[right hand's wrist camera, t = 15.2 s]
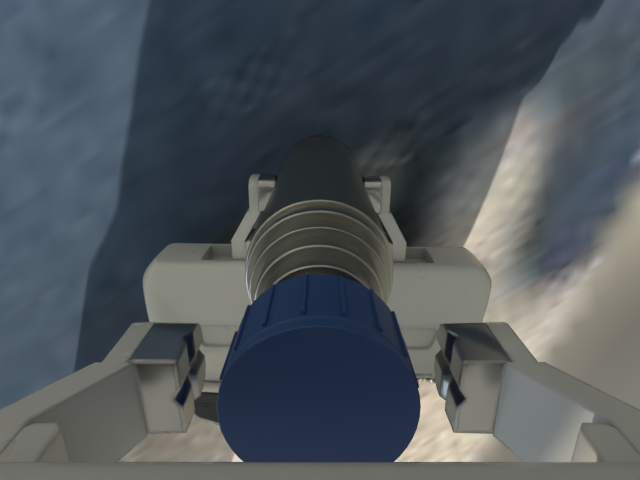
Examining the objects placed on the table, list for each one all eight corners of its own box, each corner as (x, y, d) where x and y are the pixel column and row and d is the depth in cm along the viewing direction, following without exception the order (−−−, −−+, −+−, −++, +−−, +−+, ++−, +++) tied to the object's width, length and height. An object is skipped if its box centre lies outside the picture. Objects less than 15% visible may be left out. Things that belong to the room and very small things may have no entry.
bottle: (284, 133, 28) (186, 282, 8) (358, 137, 29) (462, 295, 8) (283, 205, 30) (200, 486, 9) (353, 208, 30) (425, 494, 9)
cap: (234, 267, 10) (210, 320, 7) (411, 275, 10) (436, 329, 8) (237, 408, 11) (218, 486, 9) (392, 414, 11) (409, 493, 9)
